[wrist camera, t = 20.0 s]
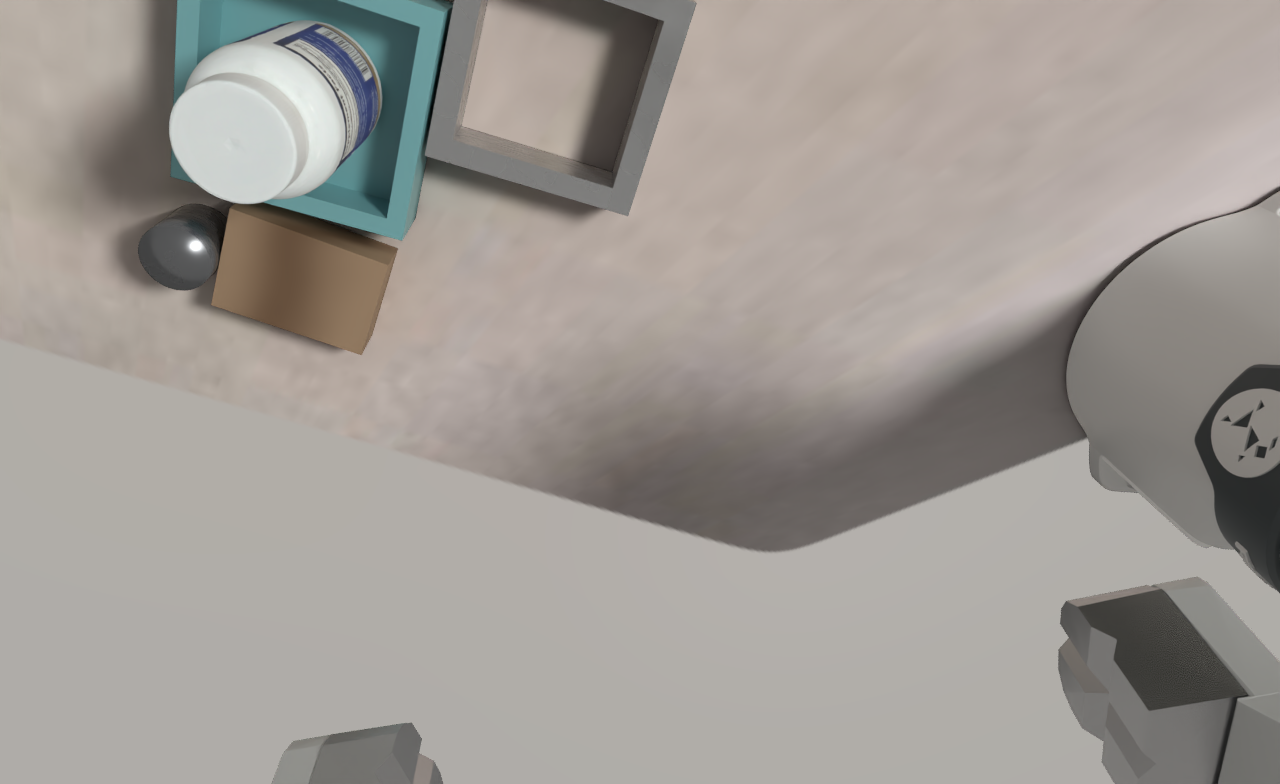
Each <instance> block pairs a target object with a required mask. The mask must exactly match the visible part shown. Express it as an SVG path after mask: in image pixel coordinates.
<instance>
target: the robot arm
mask: <svg viewBox="0 0 1280 784" xmlns="http://www.w3.org/2000/svg"><path fill="white" fill-rule="evenodd" d="M1066 384H1067V393H1068V398H1069V402H1070V405H1071V408H1072V411H1073V413H1074V415H1075V417H1076V418H1077V420H1078V422H1079V423H1080V425H1081V426H1082V428H1083V429H1084V431H1085V433H1086V435H1087V437H1088V440H1089V443H1090V445H1089V464H1090V472H1091V475H1092V477H1093V478H1094V479H1095V480H1096V481H1097V482H1099V484H1101V485H1102V486H1103V487H1104V488H1105V489H1108V490H1111V491H1120V492H1134V493H1140V494H1141V495H1142V496H1143V497H1144V498H1145V499H1146V500H1147V501H1148V502H1149V503H1150V504H1151V505H1152V506H1154V507H1155V508H1156V509H1157V510H1158V511H1159V512H1160V513H1161V514H1162V515H1163V516H1165V517H1166V518H1167V519H1168V520H1169V521H1170V522H1171V523H1172V524H1173V525H1174V526H1175V527H1176V528H1178V529H1179V530H1180V531H1181V532H1182V533H1183V534H1184V535H1185V536H1186V537H1188V538H1189V539H1190V540H1191V541H1192V542H1194V543H1196V544H1197V545H1199V546H1201V547H1204V548H1209V547H1211V546H1213V547H1217V548H1221V549H1231V550H1232V549H1235V550H1236V551H1237V552H1238V553H1239V555H1240V556H1241V557H1242V558H1243V561H1244V562H1245V564H1246V565H1247V566H1248V567H1249V568H1250V569H1251V570H1252V571H1253V572H1254V573H1255V574H1256V575H1257V576H1258V577H1259V578H1261V579H1262V580H1263V581H1264V582H1265V583H1266V584H1268V585H1270V586H1271V587H1272V588H1274V589H1275V590H1277V591H1278V592H1279V593H1280V191H1279V192H1277V193H1275V194H1274V195H1272V196H1271V197H1269V198H1268V199H1266V200H1265V201H1263V202H1262V203H1260V204H1258V205H1257V206H1254V207H1252V208H1250V209H1247V210H1244V211H1241V212H1238V213H1234V214H1230V215H1227V216H1223V217H1219V218H1216V219H1212V220H1209V221H1206V222H1203V223H1200V224H1197V225H1194V226H1192V227H1189V228H1187V229H1185V230H1183V231H1181V232H1178V233H1176V234H1174V235H1173V236H1171V237H1169V238H1167V239H1165V240H1163V241H1162V242H1160V243H1158V244H1157V245H1155V246H1154V247H1152V248H1151V249H1149V250H1148V251H1146V252H1145V253H1143V254H1142V255H1141V256H1139V257H1138V258H1137V259H1135V260H1134V261H1133V262H1132V263H1131V264H1129V265H1128V266H1127V267H1126V268H1125V269H1124V270H1123V271H1122V272H1121V273H1119V274H1118V275H1117V276H1116V277H1115V278H1114V279H1113V280H1112V282H1111V283H1110V284H1109V285H1108V286H1107V287H1106V288H1105V289H1104V290H1103V292H1102V293H1101V294H1100V295H1099V297H1098V298H1097V299H1096V301H1095V302H1094V303H1093V305H1092V306H1091V308H1090V309H1089V311H1088V313H1087V314H1086V316H1085V318H1084V319H1083V321H1082V323H1081V325H1080V327H1079V329H1078V331H1077V334H1076V336H1075V338H1074V341H1073V344H1072V347H1071V350H1070V354H1069V359H1068V364H1067V373H1066ZM1060 624H1061V626H1062V627H1063V629H1064V630H1065V632H1066V634H1067V635H1068V637H1069V638H1068V640H1067V641H1066V642H1065V643H1064V644H1063V645H1062V646H1061V647H1060V649H1059V656H1058V658H1059V659H1058V661H1059V662H1058V669H1059V674H1060V678H1061V682H1062V686H1063V691H1064V693H1065V696H1066V698H1067V700H1068V703H1069V705H1070V707H1071V709H1072V711H1073V713H1074V715H1075V717H1076V718H1077V720H1078V722H1079V724H1080V725H1081V727H1082V728H1083V729H1084V730H1086V731H1088V732H1089V733H1091V734H1093V735H1094V736H1096V737H1097V738H1099V739H1101V740H1102V741H1104V744H1103V755H1102V763H1103V765H1104V766H1105V768H1106V770H1107V771H1108V773H1109V775H1110V776H1111V778H1112V780H1113V782H1114V783H1115V784H1280V661H1279V660H1278V659H1277V658H1276V657H1275V656H1274V655H1273V653H1272V652H1271V651H1270V650H1269V649H1268V648H1267V647H1266V646H1265V645H1264V644H1263V642H1262V641H1261V640H1260V639H1259V638H1258V637H1257V636H1256V635H1255V634H1254V633H1253V631H1252V630H1251V629H1250V628H1249V627H1248V626H1247V625H1246V624H1245V623H1244V622H1243V620H1242V619H1240V617H1239V616H1238V615H1237V614H1236V613H1235V612H1234V611H1233V609H1231V607H1230V606H1229V605H1228V604H1227V603H1226V602H1225V601H1224V600H1223V599H1222V597H1221V596H1220V595H1219V594H1218V593H1217V592H1216V591H1215V590H1214V589H1213V588H1212V586H1211V585H1210V584H1209V583H1208V582H1206V581H1204V580H1202V579H1201V578H1199V577H1193V578H1188V579H1183V580H1177V581H1171V582H1166V583H1160V584H1155V585H1152V586H1148V585H1145V586H1140V587H1135V588H1130V589H1125V590H1120V591H1115V592H1110V593H1105V594H1099V595H1094V596H1090V597H1085V598H1079V599H1074V600H1070V601H1066V602H1065V604H1064V605H1063V607H1062V608H1061V620H1060ZM421 741H422V738H421V737H420V735H419V734H418V732H417V730H416V729H415V727H414V725H413V724H412V723H403V724H396V725H390V726H383V727H377V728H371V729H364V730H357V731H351V732H344V733H338V734H331V735H327V736H321V737H315V738H309V739H303V740H297V741H293V742H292V743H291V744H290V746H289V747H288V748H287V749H286V750H285V751H284V753H283V755H282V757H281V760H280V763H279V765H278V768H277V771H276V773H275V776H274V778H273V781H272V784H443V781H442V777H441V774H440V772H439V769H438V768H437V766H436V764H435V762H434V761H433V760H431V759H429V758H427V757H425V756H423V755H422V754H420V753H419V750H420V745H421Z"/></svg>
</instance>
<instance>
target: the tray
mask: <svg viewBox="0 0 1280 784" xmlns="http://www.w3.org/2000/svg"><path fill="white" fill-rule="evenodd" d="M453 4H454V3H452V2H449V1H446V0H177V23H176V49H175V75H174V101H173V107H174V105H175V103H176V101H177V100H178V98H179V97H180V96H181V95H182V94H183V93H184V91H185V87H186V84H187V81H188V79H189V77H190V75H191V74H192V72H193V70H194V69H195V68H196V66H197V65H198V64H199V63H200V62H201V61H202V60H203V59H204V58H205V57H206V56H207V55H209V54H210V53H212V52H213V51H215V50H217V49H218V48H220V47H223V46H225V45H228V44H230V43H233V42H236V41H239V40H241V39H244V38H246V37H249V36H252V35H254V34H257V33H260V32H262V31H265V30H267V29H270V28H272V27H274V26H277V25H280V24H284V23H287V22H292V21H300V20H310V21H318V22H323V23H327V24H330V25H332V26H334V27H336V28H338V29H340V30H342V31H343V32H345V33H346V34H348V35H349V36H350V37H352V38H353V39H354V40H355V41H356V42H357V43H358V44H359V45H360V46H361V47H362V48H363V49H364V50H365V52H366V53H367V54H368V56H369V57H370V59H371V60H372V62H373V64H374V66H375V68H376V70H377V73H378V76H379V78H380V82H381V88H382V108H381V113H380V117H379V119H378V122H377V124H376V126H375V128H374V129H373V131H372V132H371V134H370V135H369V136H368V137H367V139H366V140H365V141H364V142H363V143H362V144H361V145H360V146H359V147H358V148H357V149H356V150H355V151H354V152H353V154H352V155H351V156H350V157H349V158H348V159H347V160H346V161H345V162H344V163H343V164H341V166H340V167H339V168H338V169H337V170H336V171H335V172H334V173H333V174H332V175H331V176H330V177H329V178H328V179H327V180H326V181H325V182H324V183H323V184H322V185H320V186H319V187H317V188H316V189H314V190H312V191H311V192H309V193H307V194H304V195H301V196H298V197H294V198H289V199H269V200H267V201H264V203H268V204H271V205H275V206H278V207H282V208H286V209H289V210H293V211H297V212H300V213H304V214H307V215H311V216H315V217H318V218H322V219H325V220H329V221H333V222H336V223H340V224H344V225H347V226H351V227H354V228H358V229H362V230H365V231H369V232H373V233H376V234H380V235H383V236H387V237H391V238H394V239H398V240H401V241H402V240H403V239H404V237H405V235H406V233H407V232H408V230H409V228H410V227H411V225H412V223H413V222H414V220H415V218H416V213H417V207H418V202H419V197H420V192H421V186H422V181H423V176H424V171H425V165H426V160H427V156H425V151H426V146H427V141H428V136H429V130H430V125H431V120H432V114H433V109H434V104H435V99H436V93H437V88H438V83H439V78H440V72H441V67H442V62H443V56H444V51H445V46H446V41H447V35H448V30H449V25H450V20H451V14H452V9H453ZM171 177H173V178H177V179H181V180H184V181H188V182H192V183H195V182H194V181H193V180H192V179H191V178H190V177H189V176H188V175H187V174H186V172H185V171H184V170H183V168H182V167H181V165H180V164H179V162H178V160H177V158H176V157H175V154H174V152H173V149H172V152H171ZM195 184H196V183H195Z"/></svg>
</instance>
